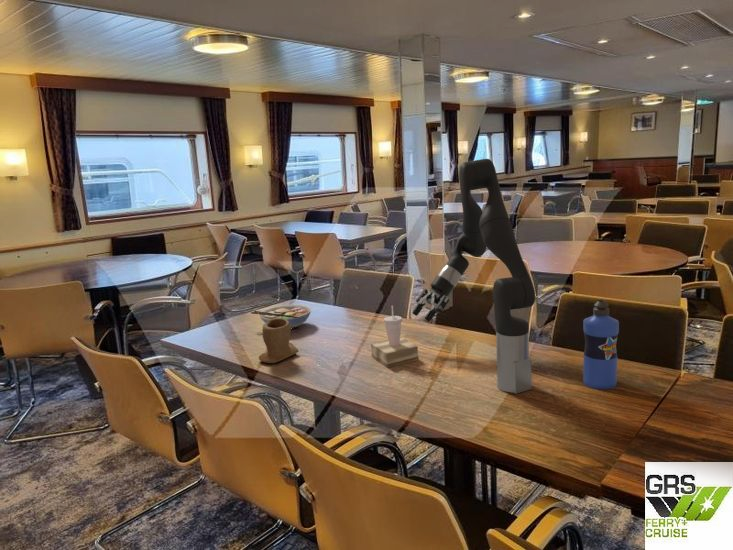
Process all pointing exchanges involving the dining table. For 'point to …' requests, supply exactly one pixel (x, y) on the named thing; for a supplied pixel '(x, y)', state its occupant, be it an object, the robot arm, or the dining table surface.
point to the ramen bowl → (286, 313)
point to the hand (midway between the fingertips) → (420, 317)
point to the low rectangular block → (394, 352)
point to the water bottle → (600, 348)
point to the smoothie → (393, 329)
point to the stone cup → (277, 341)
